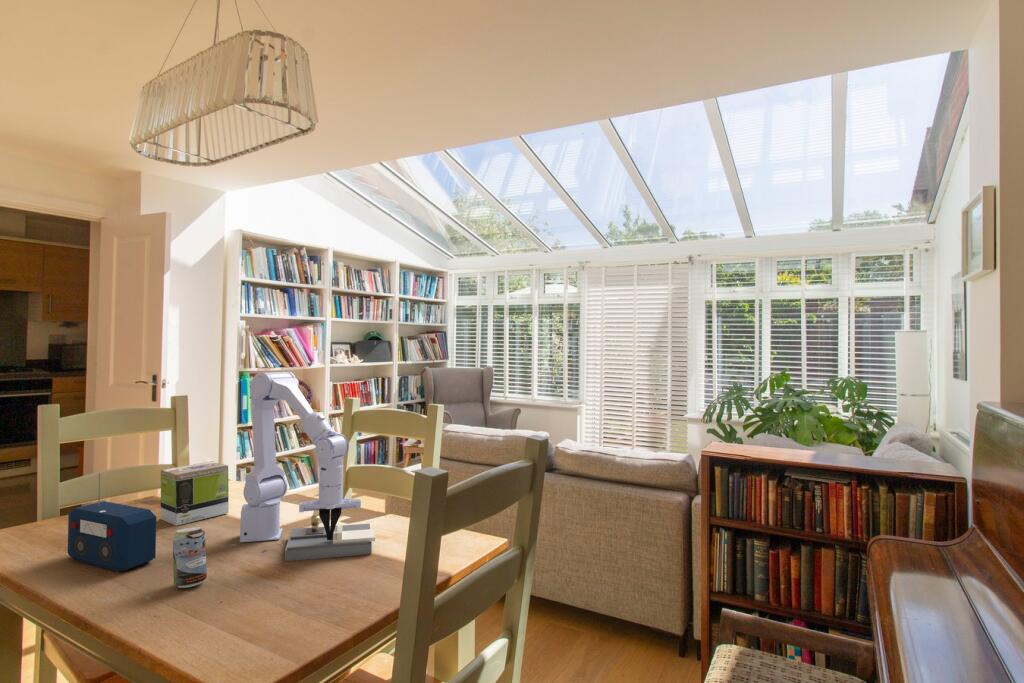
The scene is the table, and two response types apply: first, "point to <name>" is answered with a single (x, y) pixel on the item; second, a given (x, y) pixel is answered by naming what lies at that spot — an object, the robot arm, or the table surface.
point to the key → (315, 520)
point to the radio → (111, 535)
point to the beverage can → (189, 557)
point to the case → (323, 544)
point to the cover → (353, 535)
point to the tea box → (194, 492)
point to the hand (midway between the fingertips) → (329, 538)
